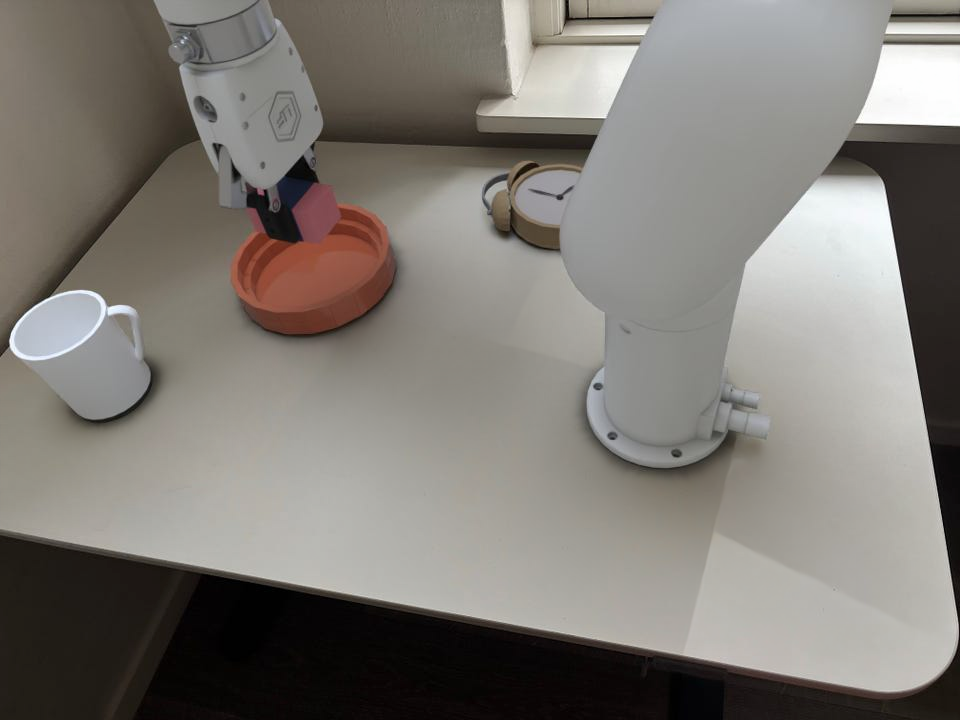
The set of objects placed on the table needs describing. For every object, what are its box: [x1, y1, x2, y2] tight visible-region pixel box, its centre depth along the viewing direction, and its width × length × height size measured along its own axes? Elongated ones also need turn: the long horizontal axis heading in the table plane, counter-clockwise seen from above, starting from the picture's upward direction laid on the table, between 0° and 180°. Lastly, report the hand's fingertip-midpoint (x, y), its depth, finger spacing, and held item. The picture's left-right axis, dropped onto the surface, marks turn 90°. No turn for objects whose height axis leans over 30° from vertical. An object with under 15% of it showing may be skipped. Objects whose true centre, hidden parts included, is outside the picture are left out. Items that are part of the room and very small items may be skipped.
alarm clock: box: [481, 160, 583, 250], centre depth 82 cm, size 11×5×15 cm
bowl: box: [230, 202, 397, 335], centre depth 80 cm, size 18×18×4 cm
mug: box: [8, 289, 153, 423], centre depth 71 cm, size 11×9×10 cm
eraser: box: [245, 177, 341, 244], centre depth 65 cm, size 7×4×4 cm, turn 68°
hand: (297, 220), depth 66 cm, fingers closed on eraser, 4 cm apart
